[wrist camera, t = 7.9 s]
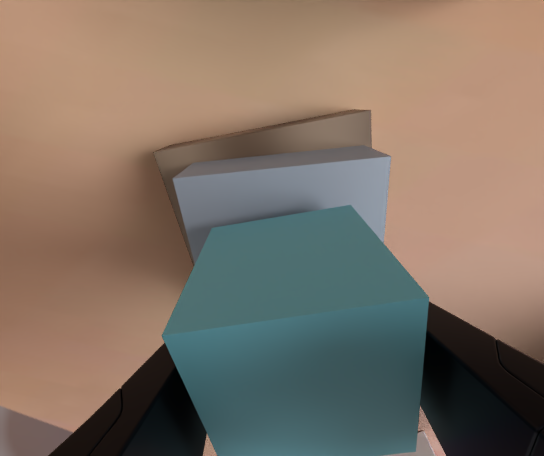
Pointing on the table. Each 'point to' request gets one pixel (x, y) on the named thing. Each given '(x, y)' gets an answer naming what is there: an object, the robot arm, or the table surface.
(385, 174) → the grey slab
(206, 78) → the table surface
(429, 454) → the ink cartridge box
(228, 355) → the teal cube
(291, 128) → the tan flat square block
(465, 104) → the table surface
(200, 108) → the table surface
